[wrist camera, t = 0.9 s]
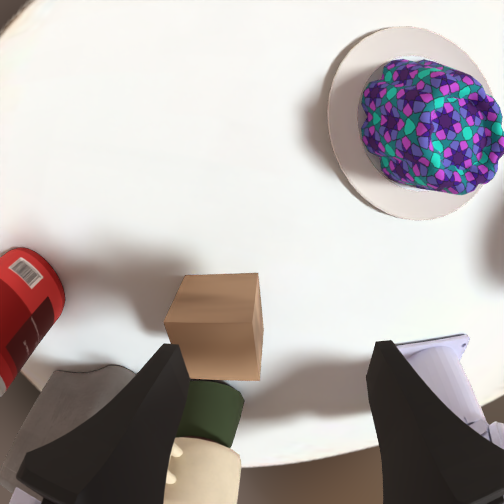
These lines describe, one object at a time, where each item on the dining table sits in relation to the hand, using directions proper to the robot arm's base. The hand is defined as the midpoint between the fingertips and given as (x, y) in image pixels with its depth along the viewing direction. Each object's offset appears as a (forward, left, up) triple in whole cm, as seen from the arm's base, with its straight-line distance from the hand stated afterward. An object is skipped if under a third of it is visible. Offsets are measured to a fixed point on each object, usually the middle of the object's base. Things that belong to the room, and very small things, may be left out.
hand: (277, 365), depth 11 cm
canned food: (-2, +22, -10) cm, 24 cm away
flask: (-16, +21, -10) cm, 28 cm away
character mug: (-15, +7, -10) cm, 20 cm away
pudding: (+8, -9, -10) cm, 16 cm away
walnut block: (-4, +4, -10) cm, 11 cm away
